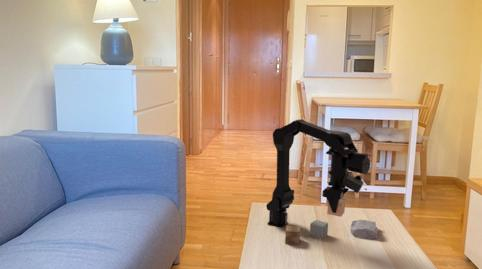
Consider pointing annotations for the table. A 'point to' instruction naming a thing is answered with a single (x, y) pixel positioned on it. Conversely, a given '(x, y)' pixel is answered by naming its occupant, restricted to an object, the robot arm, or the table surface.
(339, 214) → the terracotta cube
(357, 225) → the stone block
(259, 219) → the table surface
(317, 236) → the slate grey cube
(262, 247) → the table surface
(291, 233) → the walnut cube
